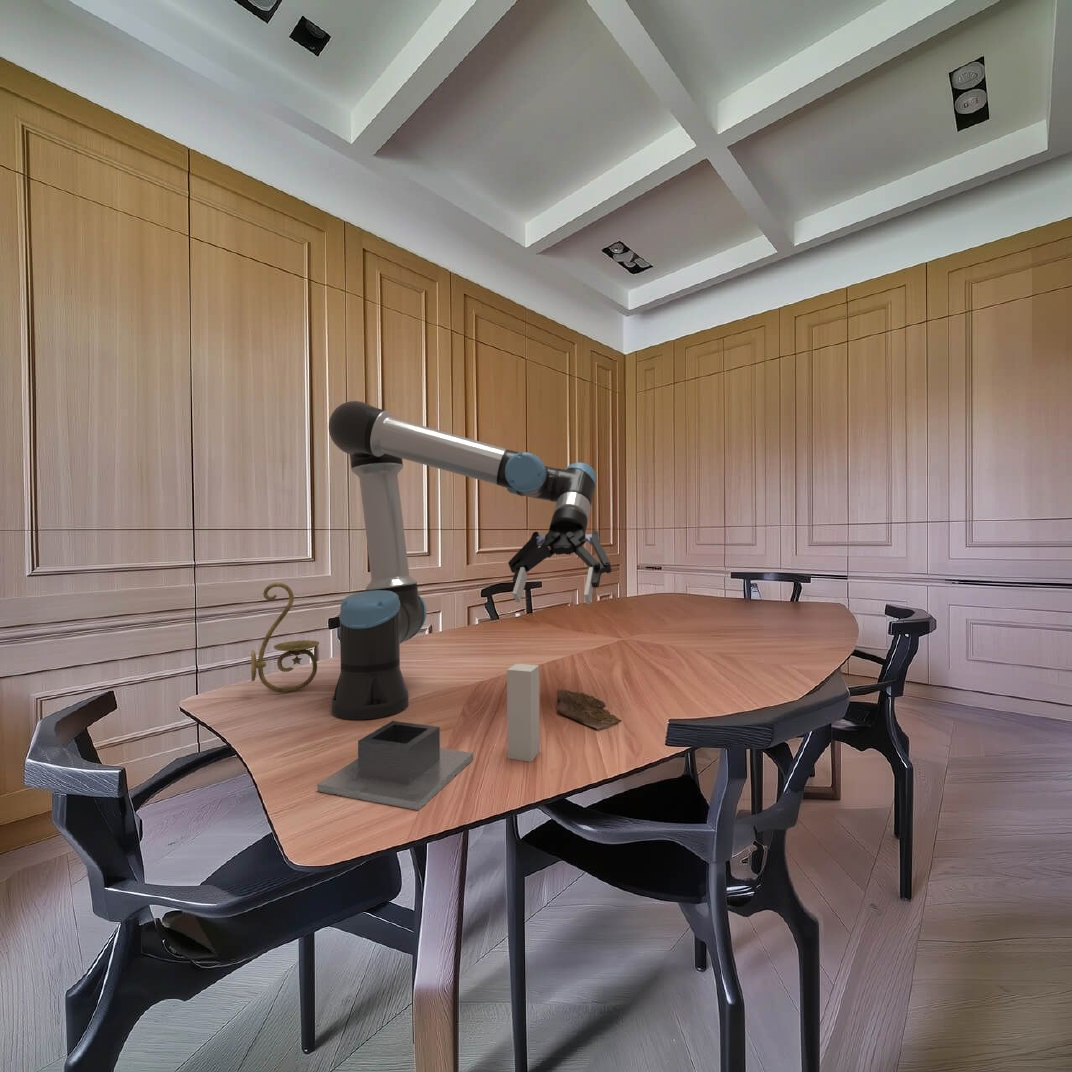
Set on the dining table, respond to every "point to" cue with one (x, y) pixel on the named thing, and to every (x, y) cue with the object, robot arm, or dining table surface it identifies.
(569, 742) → the dining table surface
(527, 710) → the rail post
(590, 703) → the wooden fragment
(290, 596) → the wall sconce
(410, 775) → the square post socket
